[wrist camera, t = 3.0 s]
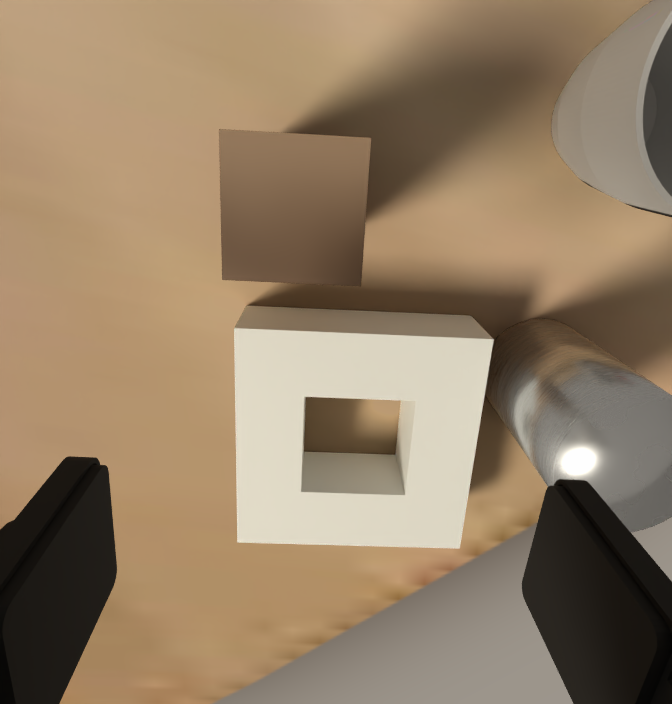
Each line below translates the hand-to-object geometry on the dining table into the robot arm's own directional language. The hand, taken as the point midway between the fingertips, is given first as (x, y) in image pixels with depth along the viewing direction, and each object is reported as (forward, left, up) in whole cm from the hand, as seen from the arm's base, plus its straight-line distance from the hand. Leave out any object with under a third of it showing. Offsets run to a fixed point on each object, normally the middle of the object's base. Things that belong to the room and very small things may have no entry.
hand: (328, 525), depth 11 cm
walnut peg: (-6, -1, -18) cm, 19 cm away
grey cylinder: (+3, +12, -18) cm, 22 cm away
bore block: (+6, +2, -18) cm, 19 cm away
